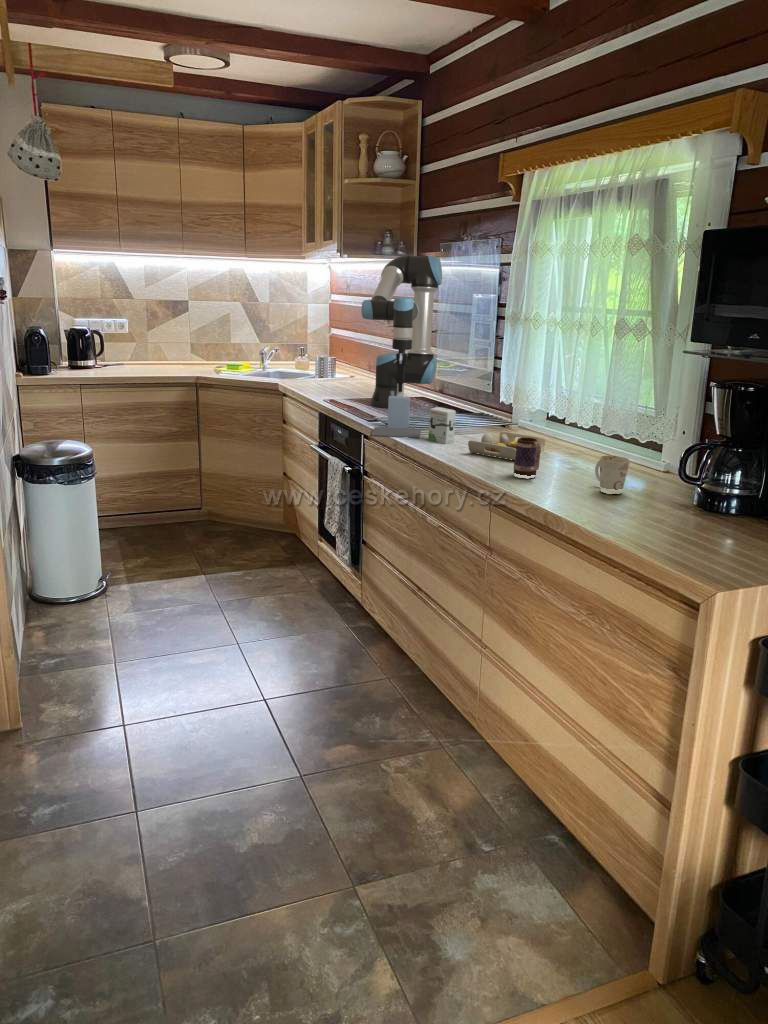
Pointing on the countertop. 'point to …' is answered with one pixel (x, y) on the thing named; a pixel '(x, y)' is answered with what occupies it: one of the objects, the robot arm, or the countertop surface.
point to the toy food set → (501, 444)
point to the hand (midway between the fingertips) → (400, 399)
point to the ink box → (442, 425)
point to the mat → (396, 432)
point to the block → (398, 412)
